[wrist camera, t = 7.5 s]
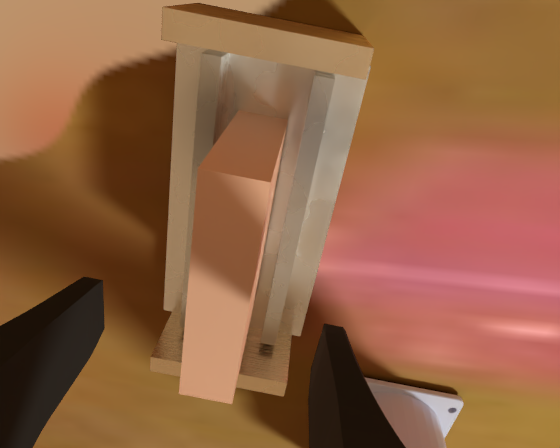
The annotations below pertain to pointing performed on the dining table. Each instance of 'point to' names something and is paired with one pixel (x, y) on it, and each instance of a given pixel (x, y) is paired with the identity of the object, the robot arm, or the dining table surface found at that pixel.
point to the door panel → (228, 251)
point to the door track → (293, 166)
